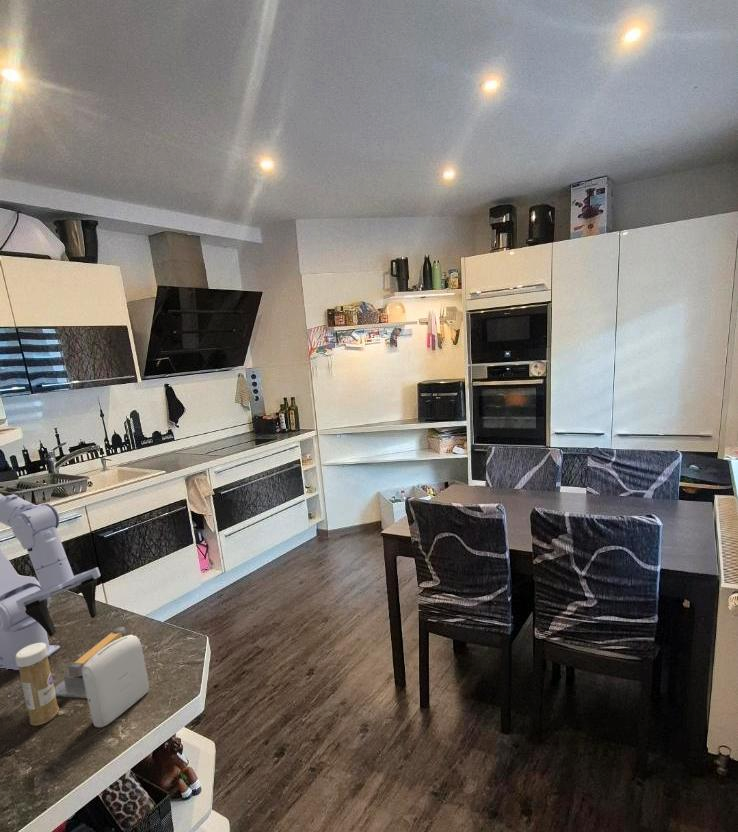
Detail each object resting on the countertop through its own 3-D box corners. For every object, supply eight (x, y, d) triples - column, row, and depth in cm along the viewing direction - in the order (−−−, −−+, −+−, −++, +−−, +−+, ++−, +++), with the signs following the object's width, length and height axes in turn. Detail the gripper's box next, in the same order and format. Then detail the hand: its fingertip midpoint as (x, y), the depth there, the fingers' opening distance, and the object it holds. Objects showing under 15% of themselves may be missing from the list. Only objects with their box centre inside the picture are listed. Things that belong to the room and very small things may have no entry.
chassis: (48, 695, 89) (45, 681, 89) (108, 645, 104) (106, 633, 104) (89, 698, 87) (86, 684, 87) (144, 647, 102) (142, 635, 102)
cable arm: (119, 634, 103) (118, 626, 103) (128, 635, 102) (127, 626, 102) (69, 676, 90) (67, 666, 90) (79, 676, 89) (78, 667, 89)
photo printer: (103, 731, 79) (90, 665, 77) (87, 724, 81) (74, 660, 79) (153, 690, 88) (143, 630, 86) (139, 685, 90) (128, 626, 88)
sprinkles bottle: (59, 718, 83) (45, 649, 81) (28, 731, 80) (13, 661, 79) (59, 703, 87) (46, 638, 85) (30, 715, 84) (16, 648, 83)
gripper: (2, 584, 88) (27, 650, 88) (86, 551, 93) (109, 613, 94) (14, 576, 94) (37, 637, 94) (92, 546, 100) (113, 604, 100)
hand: (73, 625), depth 94 cm, fingers open, 7 cm apart
